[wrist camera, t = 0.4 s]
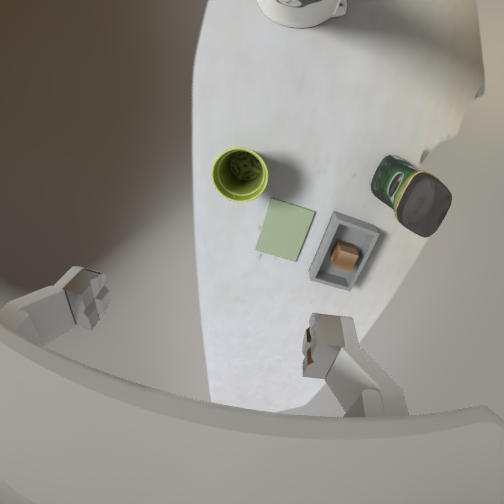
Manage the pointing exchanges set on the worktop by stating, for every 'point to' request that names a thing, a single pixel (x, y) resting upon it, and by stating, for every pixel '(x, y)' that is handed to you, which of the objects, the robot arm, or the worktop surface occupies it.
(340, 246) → the walnut block
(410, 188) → the coffee jar
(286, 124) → the worktop surface
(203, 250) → the worktop surface
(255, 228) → the worktop surface
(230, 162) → the plant pot
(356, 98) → the worktop surface
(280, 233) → the olive mat
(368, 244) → the grey bin
